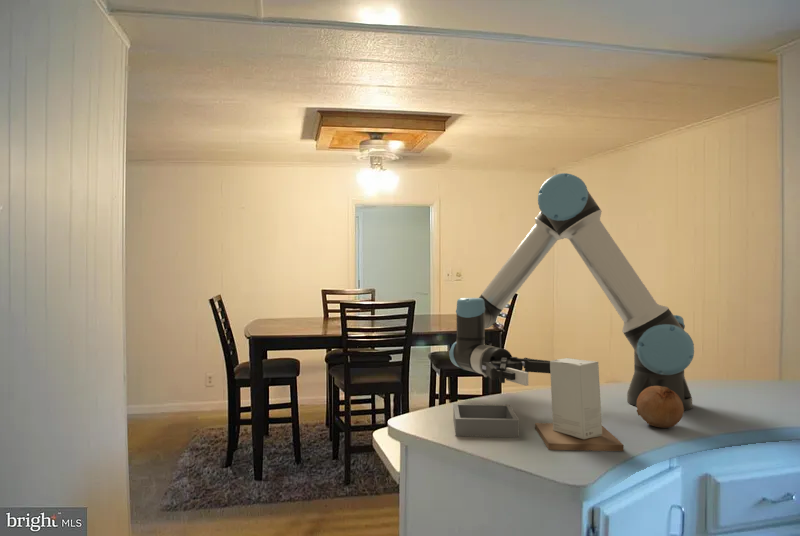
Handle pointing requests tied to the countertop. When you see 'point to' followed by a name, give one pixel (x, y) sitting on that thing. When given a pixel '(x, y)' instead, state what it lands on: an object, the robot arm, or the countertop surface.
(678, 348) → the robot arm
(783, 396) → the countertop surface
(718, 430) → the countertop surface
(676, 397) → the onion
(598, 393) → the skincare box
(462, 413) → the holder
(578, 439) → the coaster
